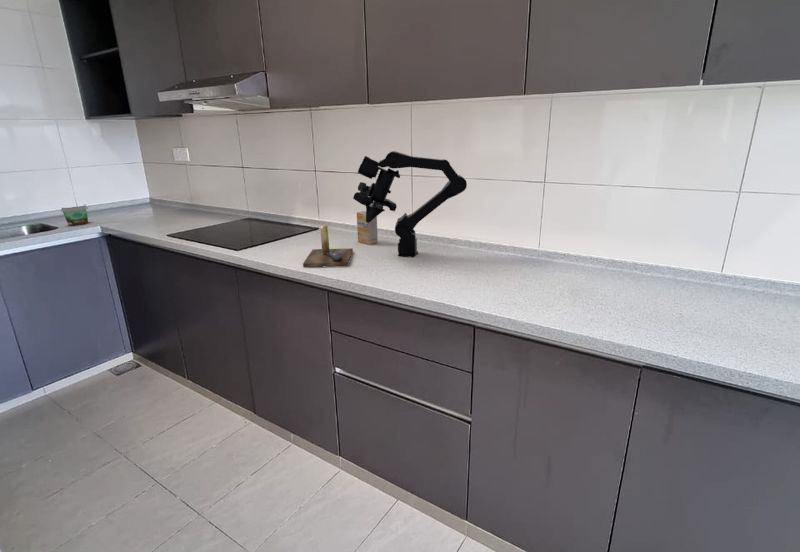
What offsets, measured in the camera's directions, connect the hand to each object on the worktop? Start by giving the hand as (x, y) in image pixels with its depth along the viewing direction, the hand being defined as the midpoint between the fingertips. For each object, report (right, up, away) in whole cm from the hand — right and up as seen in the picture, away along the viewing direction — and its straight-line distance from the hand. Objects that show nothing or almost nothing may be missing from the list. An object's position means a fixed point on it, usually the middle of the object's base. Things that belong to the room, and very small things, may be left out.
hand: (367, 222), depth 166 cm
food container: (-163, +8, +74) cm, 179 cm away
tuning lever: (-14, -13, -2) cm, 19 cm away
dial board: (-14, -14, 0) cm, 20 cm away
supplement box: (-1, -6, +23) cm, 23 cm away
